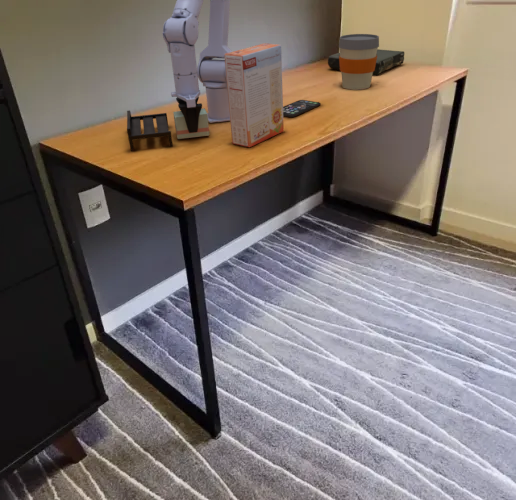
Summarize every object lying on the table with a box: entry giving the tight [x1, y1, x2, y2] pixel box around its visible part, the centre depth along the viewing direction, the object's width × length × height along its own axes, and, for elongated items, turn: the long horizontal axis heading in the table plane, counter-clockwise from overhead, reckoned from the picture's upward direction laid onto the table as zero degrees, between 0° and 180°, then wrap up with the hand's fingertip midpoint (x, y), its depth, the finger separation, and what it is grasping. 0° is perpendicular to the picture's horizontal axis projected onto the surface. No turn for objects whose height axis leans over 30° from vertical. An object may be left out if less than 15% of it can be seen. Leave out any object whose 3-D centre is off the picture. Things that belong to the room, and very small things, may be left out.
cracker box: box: [224, 42, 285, 148], centre depth 116 cm, size 14×6×21 cm, turn 141°
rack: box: [126, 110, 174, 152], centre depth 123 cm, size 10×16×6 cm, turn 13°
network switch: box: [327, 48, 405, 76], centre depth 182 cm, size 23×24×5 cm
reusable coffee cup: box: [338, 33, 380, 91], centre depth 157 cm, size 13×13×15 cm
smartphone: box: [283, 99, 321, 118], centre depth 140 cm, size 7×1×15 cm
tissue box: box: [172, 108, 210, 140], centre depth 123 cm, size 8×5×6 cm, turn 103°
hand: (191, 128), depth 123 cm, fingers closed on tissue box, 5 cm apart
